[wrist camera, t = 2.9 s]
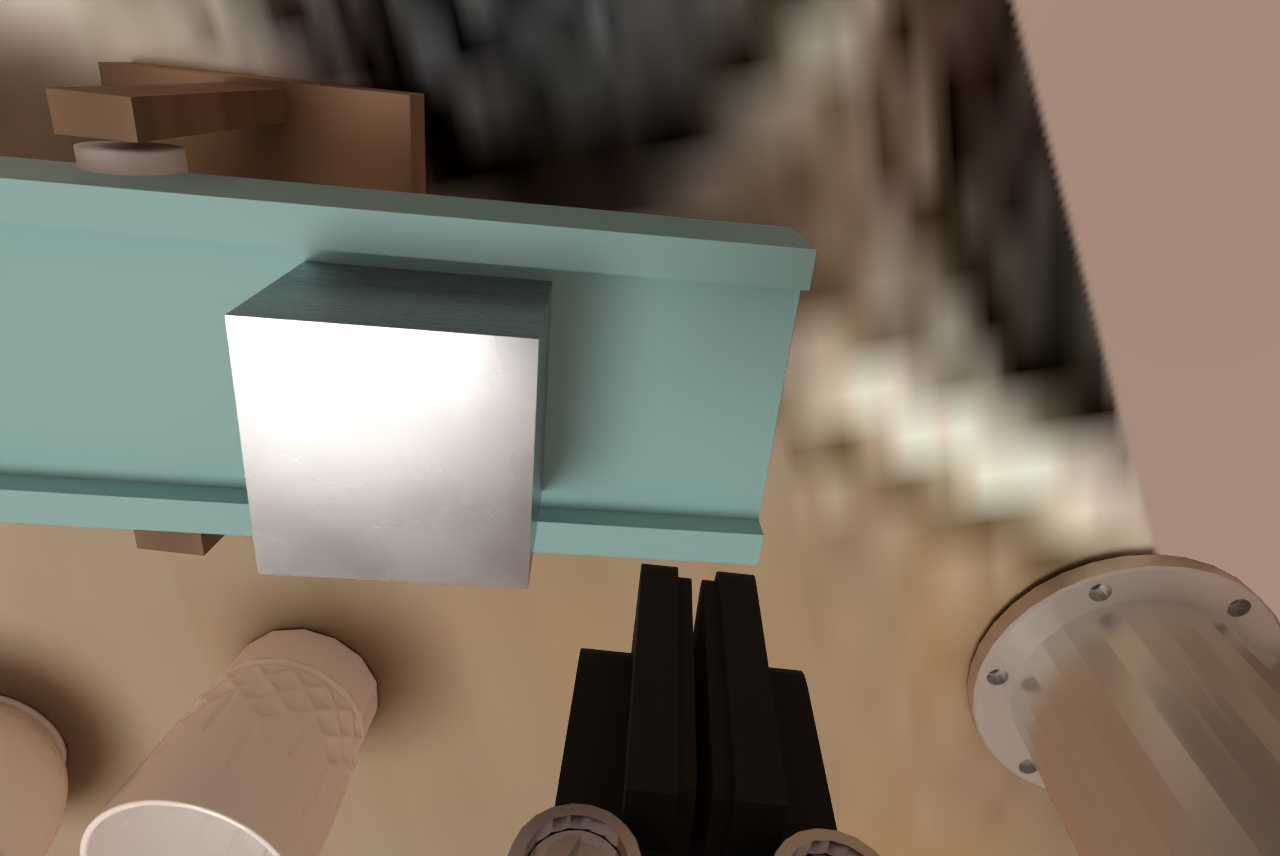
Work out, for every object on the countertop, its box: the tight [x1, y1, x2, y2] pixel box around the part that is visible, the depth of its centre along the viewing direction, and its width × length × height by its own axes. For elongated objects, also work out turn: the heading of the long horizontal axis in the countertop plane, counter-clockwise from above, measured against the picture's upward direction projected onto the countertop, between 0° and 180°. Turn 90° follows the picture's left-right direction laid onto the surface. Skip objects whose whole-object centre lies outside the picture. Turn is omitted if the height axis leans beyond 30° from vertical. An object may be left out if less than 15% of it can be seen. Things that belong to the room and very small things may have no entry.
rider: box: [225, 261, 553, 588], centre depth 19 cm, size 6×6×4 cm
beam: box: [0, 141, 817, 565], centre depth 21 cm, size 34×10×5 cm, turn 85°
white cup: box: [80, 629, 378, 856], centre depth 33 cm, size 8×8×10 cm
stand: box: [45, 62, 426, 556], centre depth 25 cm, size 10×13×9 cm
